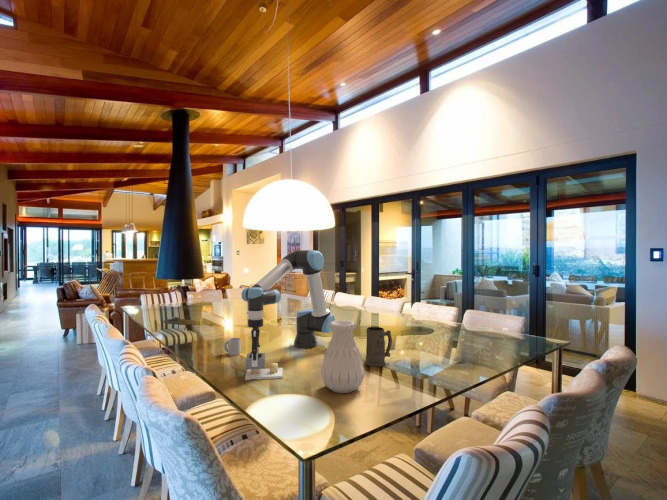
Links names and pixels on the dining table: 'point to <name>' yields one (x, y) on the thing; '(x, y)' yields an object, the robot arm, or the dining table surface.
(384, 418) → the dining table surface
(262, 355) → the collar
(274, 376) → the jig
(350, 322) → the vase
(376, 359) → the beer stein
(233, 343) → the cup
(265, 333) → the dining table surface
